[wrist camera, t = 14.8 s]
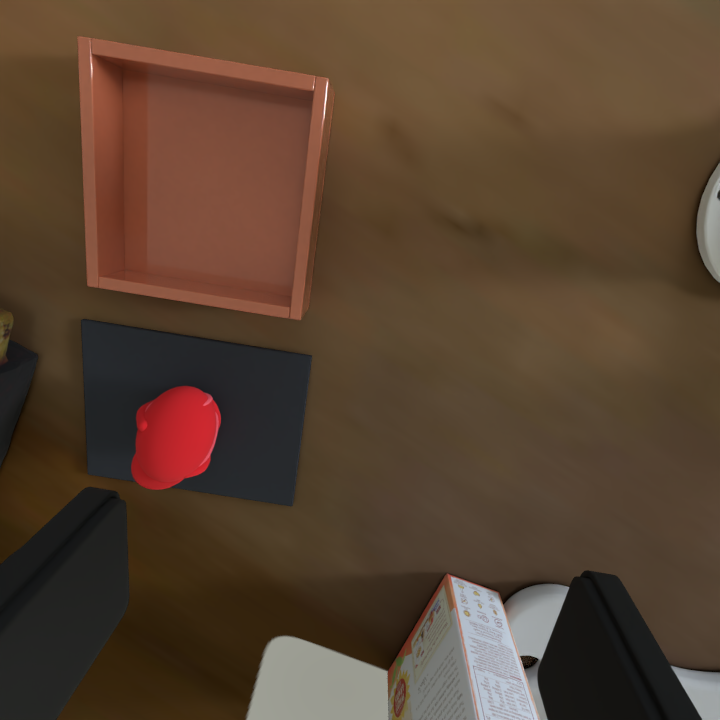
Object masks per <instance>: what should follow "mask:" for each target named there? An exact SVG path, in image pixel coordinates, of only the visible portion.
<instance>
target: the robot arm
mask: <svg viewBox="0 0 720 720" xmlns="http://www.w3.org/2000/svg"><path fill="white" fill-rule="evenodd" d="M717 194H718V196H717ZM696 235H697V241H698V248H699V252H700V254H701V257H702V259H703V262H704V264H705V266H706V268H707V269H708V270H709V272H710V273H711V275H712V276H713V278H715V279H716V280H717V281H718V282H719V283H720V163H719V164H718V166H717V168H716V169H715V171H714V172H713V174H712V176H711V177H710V179H709V181H708V184H707V186H706V188H705V191H704V193H703V195H702V198H701V202H700V206H699V211H698V215H697V231H696ZM128 602H129V573H128V544H127V514H126V502H125V501H124V500H120V497H119V494H118V492H116V491H111V490H105V489H99V488H93V487H87V488H85V489H84V490H82V491H81V492H80V493H79V494H78V495H77V496H76V497H75V498H74V499H73V500H71V501H70V502H69V503H68V504H67V505H66V506H65V507H64V508H63V509H62V510H61V511H60V512H59V513H58V514H57V515H55V516H54V517H53V518H52V519H51V520H50V521H49V522H48V523H47V524H46V525H45V526H44V527H43V528H42V529H41V530H40V531H38V532H37V533H36V534H35V535H34V536H33V537H32V538H31V539H30V540H29V541H28V542H27V543H26V544H25V545H24V546H22V547H21V548H20V549H19V550H17V551H16V552H14V553H13V554H12V555H10V556H9V557H8V558H7V559H6V560H5V561H4V562H3V563H2V564H1V565H0V720H56V719H57V717H58V716H59V714H60V713H61V711H62V710H63V708H64V707H65V705H66V703H67V702H68V700H69V699H70V697H71V696H72V694H73V693H74V691H75V690H76V688H77V687H78V685H79V683H80V682H81V680H82V679H83V677H84V676H85V674H86V673H87V671H88V670H89V668H90V666H91V665H92V663H93V662H94V660H95V659H96V657H97V656H98V654H99V653H100V651H101V649H102V648H103V646H104V645H105V643H106V642H107V640H108V639H109V637H110V636H111V634H112V633H113V631H114V629H115V628H116V626H117V625H118V623H119V622H120V620H121V619H122V617H123V615H124V613H125V611H126V609H127V606H128ZM537 681H538V688H539V692H540V695H541V699H542V702H543V706H544V709H545V712H546V716H547V719H548V720H702V718H701V716H700V715H699V713H698V711H697V710H696V708H695V706H694V705H693V703H692V701H691V699H690V698H689V696H688V694H687V693H686V691H685V689H684V687H683V686H682V684H681V682H680V681H679V679H678V677H677V676H676V674H675V672H674V670H673V669H672V667H671V666H670V664H669V662H668V660H667V659H666V657H665V655H664V654H663V652H662V650H661V649H660V647H659V645H658V643H657V642H656V640H655V638H654V637H653V635H652V633H651V631H650V630H649V628H648V626H647V625H646V623H645V621H644V620H643V618H642V616H641V614H640V613H639V611H638V609H637V608H636V606H635V604H634V602H633V601H632V599H631V597H630V596H629V594H628V592H627V590H626V589H625V587H624V585H623V584H622V582H621V581H620V579H619V578H618V577H617V576H615V575H611V574H605V573H599V572H593V571H584V572H583V573H582V574H581V576H580V577H574V578H573V580H572V582H571V584H570V587H569V590H568V592H567V595H566V597H565V600H564V603H563V605H562V608H561V610H560V613H559V615H558V618H557V621H556V623H555V626H554V628H553V631H552V634H551V636H550V639H549V641H548V644H547V646H546V649H545V652H544V654H543V657H542V659H541V662H540V665H539V668H538V673H537Z"/></svg>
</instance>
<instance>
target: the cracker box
mask: <svg viewBox="0 0 720 720" xmlns="http://www.w3.org/2000/svg"><path fill="white" fill-rule="evenodd" d="M388 706H389V707H388V711H389V720H540V718H539V715H538V712H537V708H536V705H535V702H534V699H533V696H532V693H531V690H530V687H529V684H528V680H527V677H526V674H525V671H524V668H523V665H522V662H521V659H520V656H519V653H518V649H517V646H516V643H515V640H514V637H513V634H512V631H511V628H510V624H509V622H508V619H507V616H506V612H505V609H504V606H503V603H502V600H501V597H500V594H499V592H497V591H494V590H491V589H488V588H486V587H483V586H480V585H478V584H475V583H472V582H469V581H467V580H464V579H461V578H458V577H455V576H453V575H450V574H446V575H445V576H444V578H443V580H442V582H441V583H440V585H439V587H438V588H437V590H436V592H435V593H434V595H433V597H432V598H431V600H430V602H429V603H428V605H427V607H426V608H425V610H424V612H423V613H422V615H421V617H420V619H419V620H418V622H417V624H416V625H415V627H414V629H413V630H412V632H411V634H410V635H409V637H408V639H407V640H406V642H405V644H404V645H403V647H402V649H401V650H400V652H399V654H398V656H397V657H396V659H395V660H394V662H393V664H392V666H391V667H390V669H389V671H388Z"/></svg>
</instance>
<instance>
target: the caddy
mask: <svg viewBox="0 0 720 720" xmlns="http://www.w3.org/2000/svg"><path fill="white" fill-rule="evenodd" d="M78 62H79V88H80V114H81V140H82V166H83V191H84V217H85V243H86V269H87V286H89V287H95V288H102V289H108V290H114V291H120V292H126V293H133V294H139V295H145V296H151V297H157V298H163V299H170V300H176V301H182V302H188V303H194V304H201V305H207V306H213V307H219V308H225V309H231V310H238V311H244V312H250V313H256V314H262V315H269V316H275V317H281V318H287V319H288V318H290V319H294V320H301V318H302V317H303V315H304V314H305V312H306V311H307V309H308V308H309V302H310V294H311V286H312V277H313V269H314V261H315V253H316V244H317V236H318V228H319V220H320V212H321V203H322V195H323V187H324V179H325V171H326V162H327V154H328V146H329V138H330V130H331V121H332V113H333V105H334V97H335V92H334V90H333V88H332V86H331V83H330V81H329V79H328V78H325V77H319V76H316V77H315V76H314V75H308V74H302V73H296V72H290V71H284V70H279V69H273V68H267V67H261V66H255V65H249V64H243V63H237V62H231V61H225V60H219V59H213V58H207V57H201V56H195V55H189V54H183V53H178V52H172V51H166V50H160V49H154V48H148V47H142V46H136V45H130V44H124V43H118V42H112V41H106V40H100V39H94V38H88V37H82V36H78Z"/></svg>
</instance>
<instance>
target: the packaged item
mask: <svg viewBox="0 0 720 720" xmlns="http://www.w3.org/2000/svg"><path fill="white" fill-rule="evenodd" d="M13 320H14V318H13V316H12V313H11V312H8V311H5V310H3V309H1V308H0V467H1V464H2V461H3V459H4V457H5V455H6V453H7V450H8V448H9V445H10V442H11V436H12V434H13V431H14V428H15V425H16V423H17V421H18V418H19V415H20V412H21V408H22V406H23V404H24V401H25V397H26V395H27V392H28V389H29V386H30V383H31V380H32V377H33V373H34V370H35V367H36V362H37V360H38V355H37V354H36V353H34V352H32V351H30V350H28V349H26V348H25V347H23V346H21V345H20V344H18V343H16V342H14V341H12V340H9V337H10V333H11V330H12V326H13Z"/></svg>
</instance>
